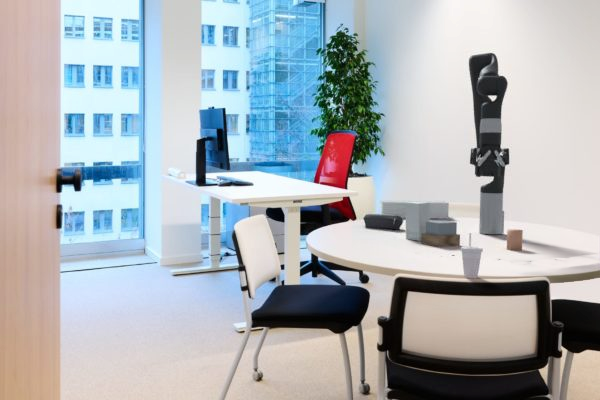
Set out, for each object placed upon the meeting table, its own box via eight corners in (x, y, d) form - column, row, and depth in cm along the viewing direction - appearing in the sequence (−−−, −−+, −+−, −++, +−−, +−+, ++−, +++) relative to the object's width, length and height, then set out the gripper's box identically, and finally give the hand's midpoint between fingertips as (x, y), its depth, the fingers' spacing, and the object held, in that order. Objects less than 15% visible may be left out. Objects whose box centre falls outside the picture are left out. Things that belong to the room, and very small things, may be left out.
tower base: (442, 243, 246) (442, 231, 246) (459, 246, 237) (459, 234, 237) (421, 244, 242) (421, 232, 241) (438, 248, 233) (438, 235, 232)
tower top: (442, 232, 244) (442, 220, 244) (456, 234, 237) (456, 222, 237) (425, 233, 241) (425, 221, 240) (439, 235, 233) (439, 223, 233)
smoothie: (464, 277, 197) (465, 231, 196) (484, 279, 193) (486, 233, 193) (456, 279, 192) (457, 233, 191) (477, 282, 188) (479, 234, 188)
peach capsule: (514, 248, 232) (514, 228, 231) (525, 250, 227) (525, 230, 227) (503, 249, 229) (504, 229, 229) (514, 250, 225) (515, 231, 224)
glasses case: (406, 231, 279) (406, 214, 279) (397, 234, 270) (398, 216, 270) (367, 229, 288) (368, 212, 287) (358, 231, 279) (358, 214, 278)
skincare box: (430, 240, 251) (431, 202, 250) (419, 241, 248) (419, 203, 247) (415, 238, 258) (416, 201, 257) (404, 239, 255) (404, 201, 254)
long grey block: (381, 224, 312) (382, 202, 311) (380, 221, 322) (380, 200, 322) (448, 224, 310) (448, 202, 310) (444, 222, 321) (444, 201, 320)
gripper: (503, 132, 235) (501, 176, 236) (467, 131, 233) (466, 176, 234) (514, 131, 228) (512, 177, 229) (477, 131, 225) (475, 177, 226)
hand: (489, 176), depth 231 cm, fingers open, 8 cm apart
